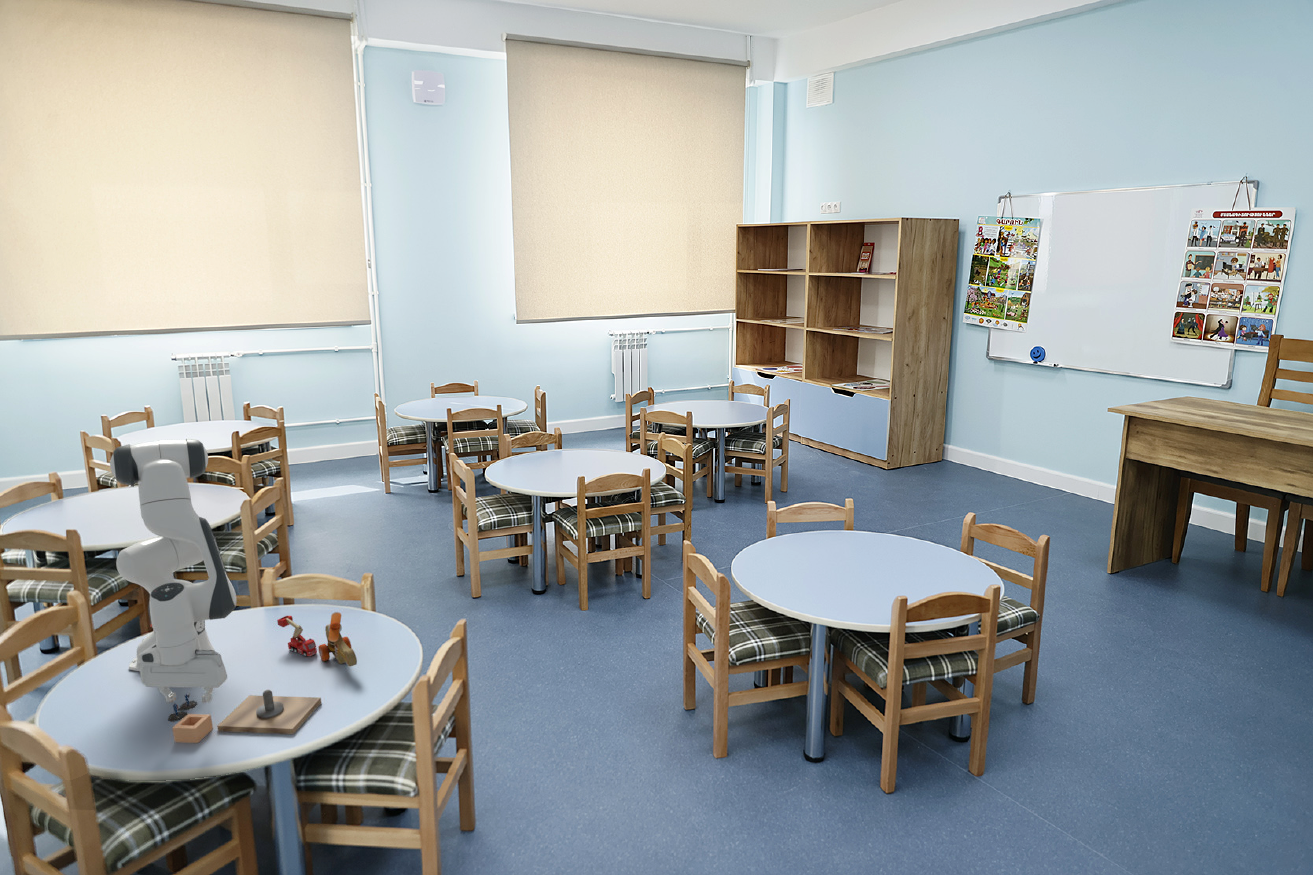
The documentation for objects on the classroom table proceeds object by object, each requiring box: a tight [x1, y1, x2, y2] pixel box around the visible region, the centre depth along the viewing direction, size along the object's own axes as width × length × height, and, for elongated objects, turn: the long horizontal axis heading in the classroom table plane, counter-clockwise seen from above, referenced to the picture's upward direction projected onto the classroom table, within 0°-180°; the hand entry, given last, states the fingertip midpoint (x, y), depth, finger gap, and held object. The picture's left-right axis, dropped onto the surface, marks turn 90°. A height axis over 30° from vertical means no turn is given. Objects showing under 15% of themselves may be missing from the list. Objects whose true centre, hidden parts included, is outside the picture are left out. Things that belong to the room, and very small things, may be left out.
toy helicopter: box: [317, 611, 358, 667], centre depth 234 cm, size 8×21×14 cm, turn 39°
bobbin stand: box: [216, 689, 322, 735], centre depth 210 cm, size 20×14×8 cm
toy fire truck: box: [276, 615, 318, 657], centre depth 244 cm, size 3×14×10 cm, turn 58°
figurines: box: [167, 693, 198, 723], centre depth 214 cm, size 10×5×4 cm, turn 178°
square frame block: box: [172, 713, 214, 744], centre depth 203 cm, size 6×6×4 cm
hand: (189, 701), depth 201 cm, fingers open, 8 cm apart
